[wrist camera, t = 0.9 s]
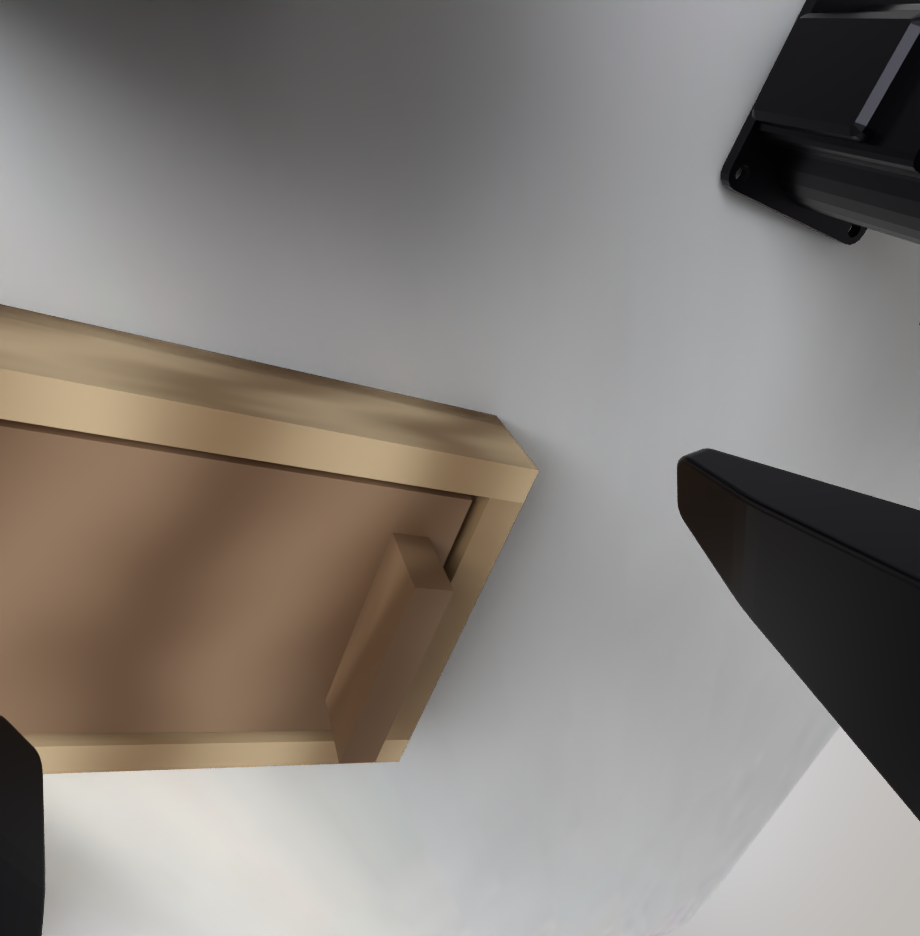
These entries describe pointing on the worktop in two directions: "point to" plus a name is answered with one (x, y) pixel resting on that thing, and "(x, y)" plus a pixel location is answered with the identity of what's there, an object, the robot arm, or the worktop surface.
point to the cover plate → (211, 590)
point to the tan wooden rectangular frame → (271, 440)
